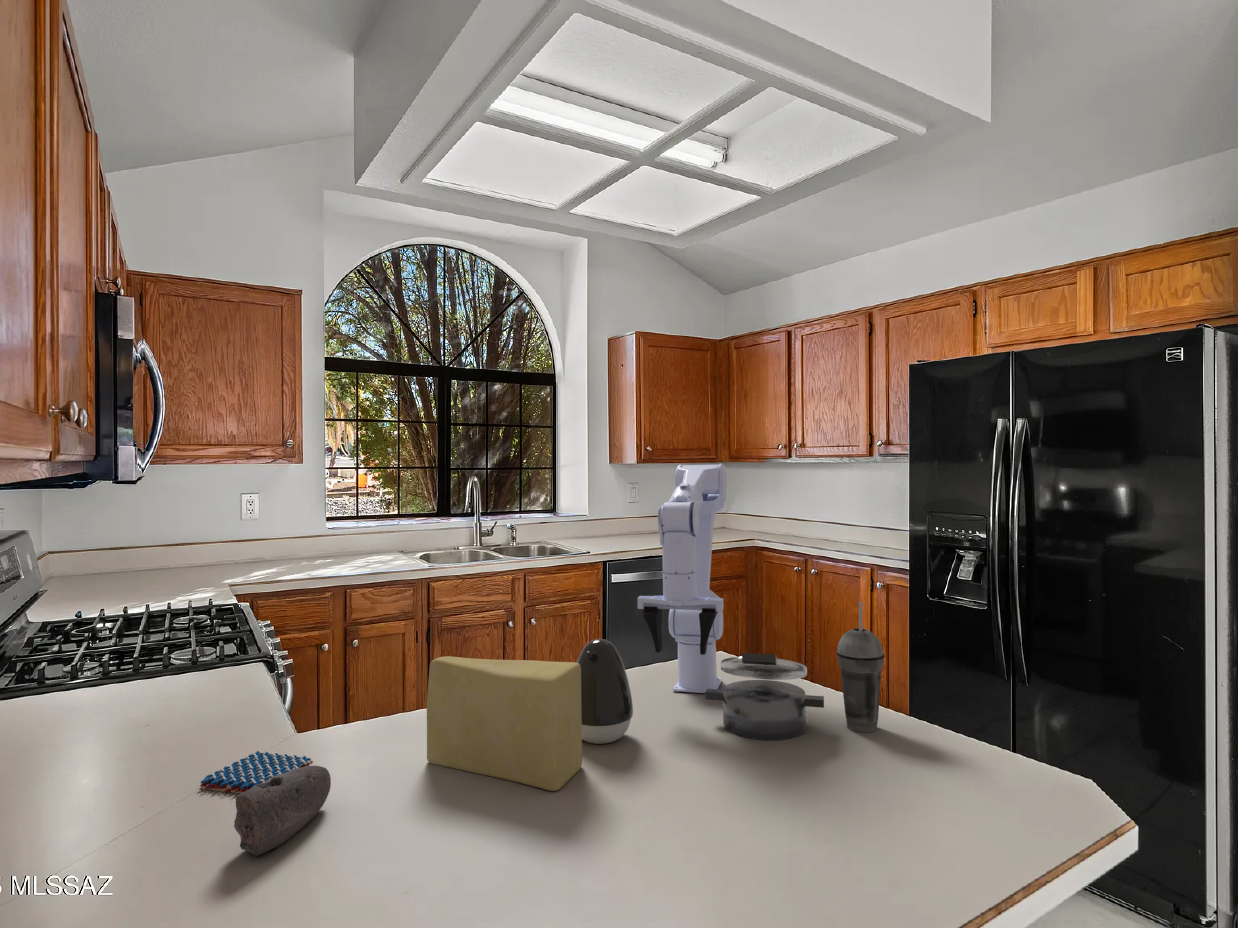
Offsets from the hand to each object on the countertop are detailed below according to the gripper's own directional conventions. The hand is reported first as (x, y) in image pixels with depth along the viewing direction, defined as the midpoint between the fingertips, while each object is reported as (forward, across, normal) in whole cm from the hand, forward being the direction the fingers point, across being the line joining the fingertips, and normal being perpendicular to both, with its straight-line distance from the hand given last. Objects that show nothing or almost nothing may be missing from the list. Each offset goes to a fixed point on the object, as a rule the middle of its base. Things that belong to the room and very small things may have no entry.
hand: (680, 652), depth 122 cm
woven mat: (+11, -51, -40) cm, 65 cm away
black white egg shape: (+10, -10, -14) cm, 21 cm away
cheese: (+10, -20, -30) cm, 37 cm away
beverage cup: (+10, +29, 0) cm, 31 cm away
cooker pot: (+10, +14, -3) cm, 18 cm away
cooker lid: (+1, +14, -4) cm, 15 cm away
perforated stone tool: (+10, -36, -52) cm, 64 cm away
